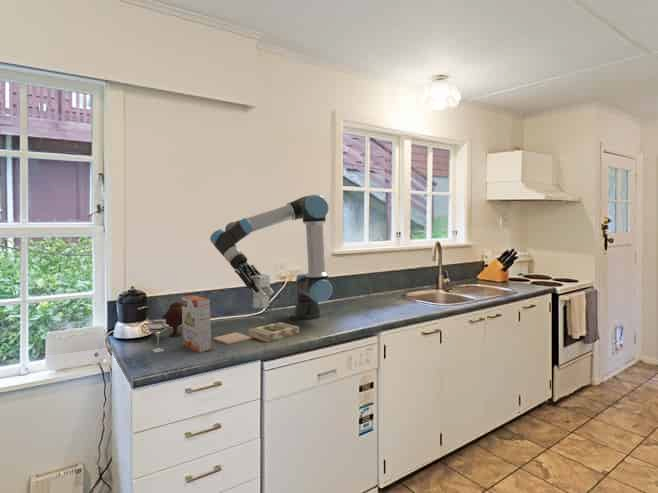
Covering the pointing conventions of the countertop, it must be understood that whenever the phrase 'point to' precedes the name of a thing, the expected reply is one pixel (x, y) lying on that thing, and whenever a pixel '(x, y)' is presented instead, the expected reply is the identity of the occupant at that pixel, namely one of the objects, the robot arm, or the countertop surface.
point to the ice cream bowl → (174, 318)
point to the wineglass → (157, 330)
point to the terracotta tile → (232, 338)
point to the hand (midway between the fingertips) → (267, 295)
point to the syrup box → (264, 284)
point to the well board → (273, 331)
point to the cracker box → (196, 323)
